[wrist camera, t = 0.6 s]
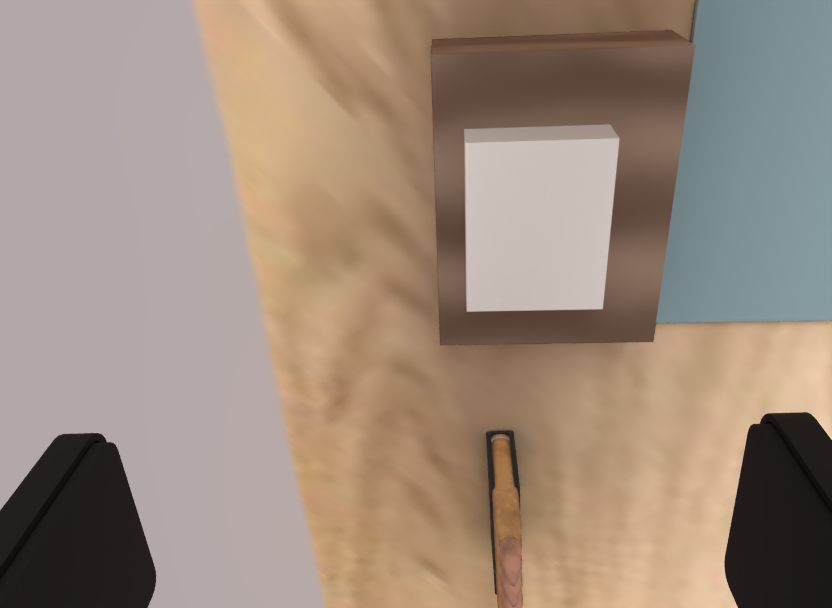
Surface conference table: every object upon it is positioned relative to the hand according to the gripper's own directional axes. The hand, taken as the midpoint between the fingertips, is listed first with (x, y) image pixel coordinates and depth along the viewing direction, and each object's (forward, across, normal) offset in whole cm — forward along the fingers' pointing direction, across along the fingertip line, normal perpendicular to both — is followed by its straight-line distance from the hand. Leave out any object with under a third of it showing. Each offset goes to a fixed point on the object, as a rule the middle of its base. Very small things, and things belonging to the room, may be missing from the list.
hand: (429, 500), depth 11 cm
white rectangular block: (+26, -5, +6) cm, 27 cm away
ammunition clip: (+32, -3, +28) cm, 43 cm away
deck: (+31, -6, +6) cm, 32 cm away
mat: (+31, -19, +5) cm, 37 cm away
